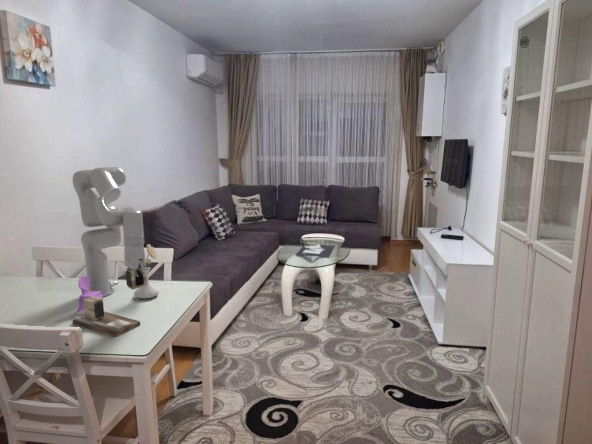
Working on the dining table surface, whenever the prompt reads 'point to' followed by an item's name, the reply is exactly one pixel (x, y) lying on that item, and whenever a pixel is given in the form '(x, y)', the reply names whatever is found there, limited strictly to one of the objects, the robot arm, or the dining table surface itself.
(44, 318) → the dining table surface
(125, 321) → the rail board
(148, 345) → the dining table surface
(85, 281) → the toy chair
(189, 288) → the dining table surface
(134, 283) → the wooden block
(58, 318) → the dining table surface
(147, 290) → the flower in vase
